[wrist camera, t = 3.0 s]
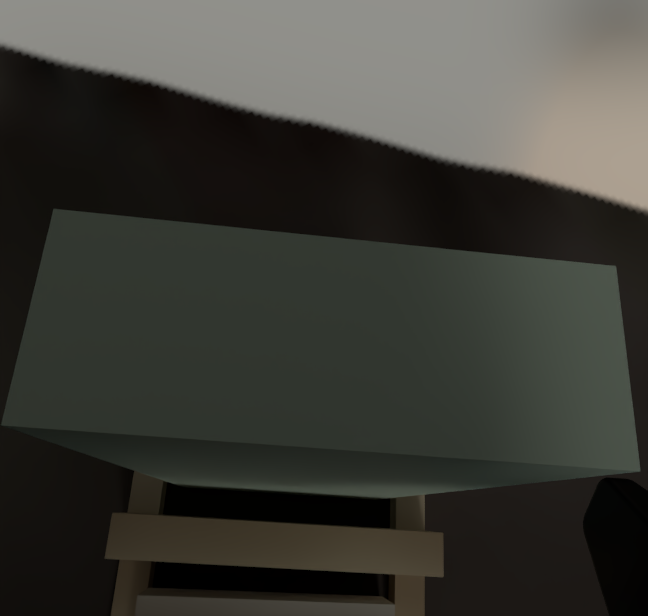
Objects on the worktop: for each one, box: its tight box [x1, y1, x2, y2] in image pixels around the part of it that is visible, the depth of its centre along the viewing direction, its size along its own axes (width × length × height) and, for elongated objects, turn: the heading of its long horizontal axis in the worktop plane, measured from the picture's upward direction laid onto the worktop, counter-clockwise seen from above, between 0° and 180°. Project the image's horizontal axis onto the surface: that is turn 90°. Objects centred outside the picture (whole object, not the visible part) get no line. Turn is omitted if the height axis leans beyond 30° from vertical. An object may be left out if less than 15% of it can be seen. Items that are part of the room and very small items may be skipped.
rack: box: [105, 471, 444, 616], centre depth 15 cm, size 13×8×2 cm, turn 177°
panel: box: [1, 209, 640, 500], centre depth 11 cm, size 2×6×12 cm, turn 87°
